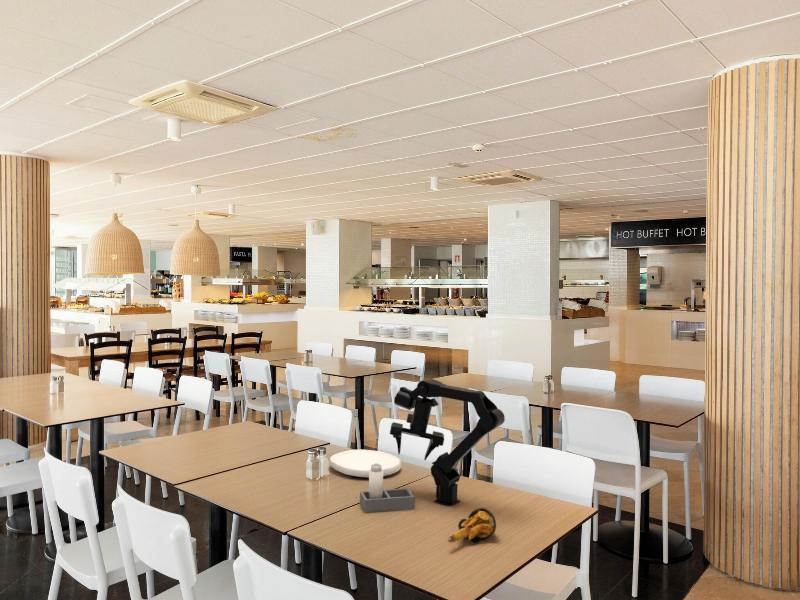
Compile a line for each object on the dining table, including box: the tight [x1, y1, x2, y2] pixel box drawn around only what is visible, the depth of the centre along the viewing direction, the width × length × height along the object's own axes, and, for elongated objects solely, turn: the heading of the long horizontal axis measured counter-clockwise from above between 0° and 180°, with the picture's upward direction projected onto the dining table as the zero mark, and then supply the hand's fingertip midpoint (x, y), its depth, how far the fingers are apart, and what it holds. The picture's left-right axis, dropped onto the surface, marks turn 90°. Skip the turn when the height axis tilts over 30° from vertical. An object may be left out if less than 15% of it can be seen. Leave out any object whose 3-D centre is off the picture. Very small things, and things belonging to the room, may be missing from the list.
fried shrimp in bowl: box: [447, 507, 497, 545], centre depth 171 cm, size 9×11×18 cm
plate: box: [329, 449, 402, 478], centre depth 239 cm, size 28×6×27 cm
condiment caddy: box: [359, 487, 416, 514], centre depth 199 cm, size 16×9×4 cm, turn 104°
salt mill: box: [368, 463, 384, 499], centre depth 198 cm, size 5×5×14 cm
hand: (411, 456), depth 211 cm, fingers open, 9 cm apart
